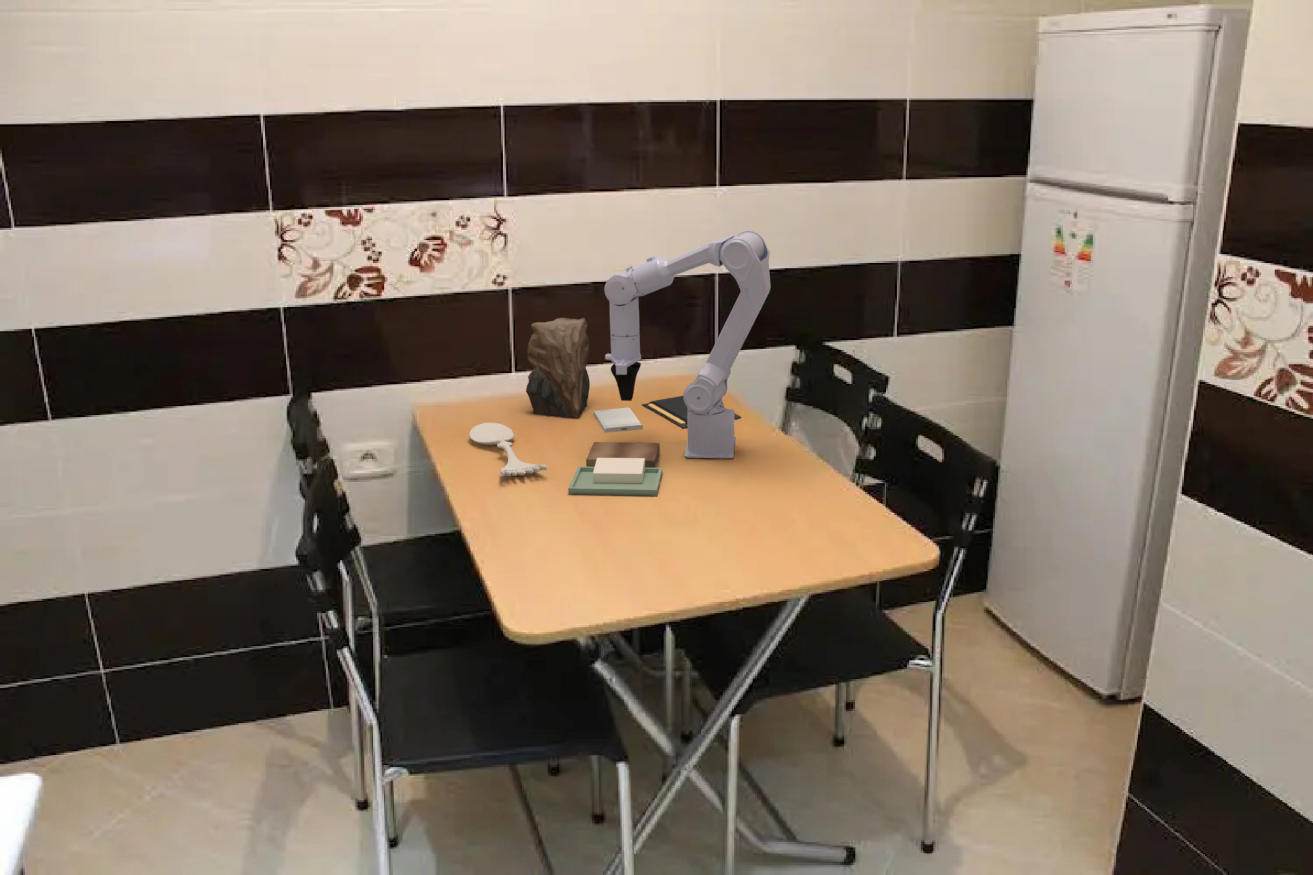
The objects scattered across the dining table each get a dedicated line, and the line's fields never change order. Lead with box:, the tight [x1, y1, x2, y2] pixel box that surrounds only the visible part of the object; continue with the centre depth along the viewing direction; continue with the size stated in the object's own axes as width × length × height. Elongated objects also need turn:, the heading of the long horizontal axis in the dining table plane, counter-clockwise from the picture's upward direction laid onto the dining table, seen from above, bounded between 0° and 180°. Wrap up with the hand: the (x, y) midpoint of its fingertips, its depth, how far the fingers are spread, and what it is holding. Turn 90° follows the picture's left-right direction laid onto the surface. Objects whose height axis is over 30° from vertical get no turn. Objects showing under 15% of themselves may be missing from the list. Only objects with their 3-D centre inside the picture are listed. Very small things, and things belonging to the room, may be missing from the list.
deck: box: [585, 441, 661, 468], centre depth 216 cm, size 13×10×2 cm
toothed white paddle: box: [468, 422, 548, 477], centre depth 221 cm, size 9×32×4 cm, turn 21°
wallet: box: [641, 395, 742, 430], centre depth 247 cm, size 20×2×15 cm
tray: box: [567, 465, 664, 497], centre depth 206 cm, size 16×11×1 cm
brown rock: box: [525, 317, 591, 420], centre depth 247 cm, size 13×13×20 cm
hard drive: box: [593, 407, 644, 434], centre depth 241 cm, size 2×8×12 cm
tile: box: [593, 458, 645, 483], centre depth 208 cm, size 9×6×2 cm, turn 85°
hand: (626, 399), depth 224 cm, fingers closed
